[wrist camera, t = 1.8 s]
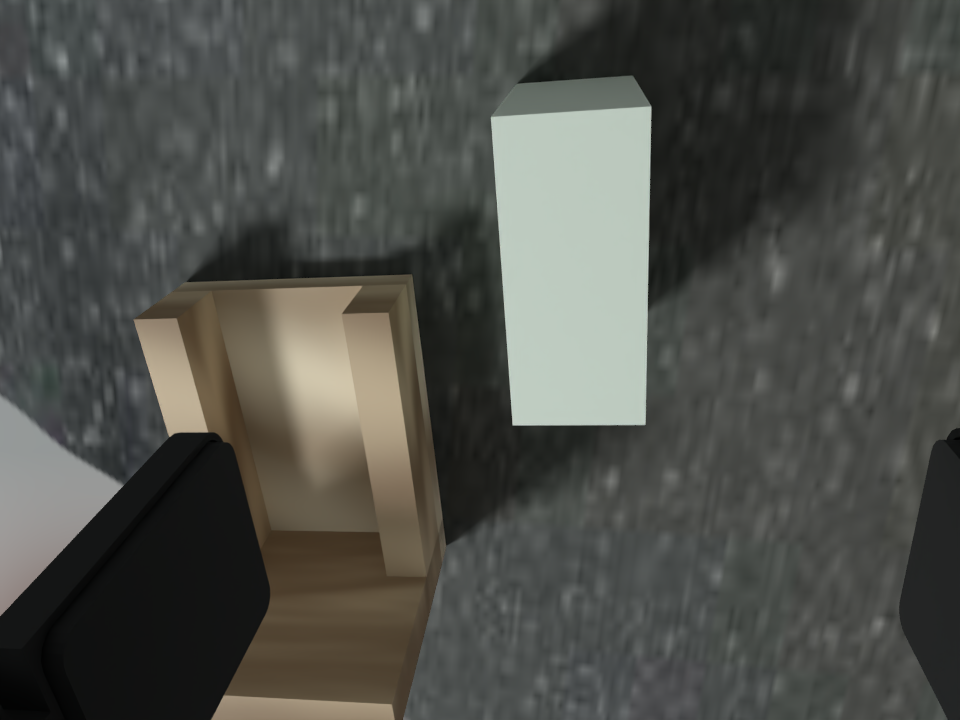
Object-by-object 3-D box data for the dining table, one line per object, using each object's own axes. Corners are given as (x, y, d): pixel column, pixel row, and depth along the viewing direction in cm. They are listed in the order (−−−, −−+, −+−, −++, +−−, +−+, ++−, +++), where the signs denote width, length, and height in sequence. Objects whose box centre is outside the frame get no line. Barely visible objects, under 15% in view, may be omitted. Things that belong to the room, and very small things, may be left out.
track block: (185, 282, 27) (18, 402, 19) (412, 274, 26) (335, 399, 18) (254, 542, 32) (145, 722, 24) (446, 546, 31) (398, 738, 23)
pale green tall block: (516, 83, 23) (491, 117, 17) (632, 75, 22) (651, 106, 16) (529, 323, 26) (512, 425, 20) (630, 321, 26) (645, 424, 20)
